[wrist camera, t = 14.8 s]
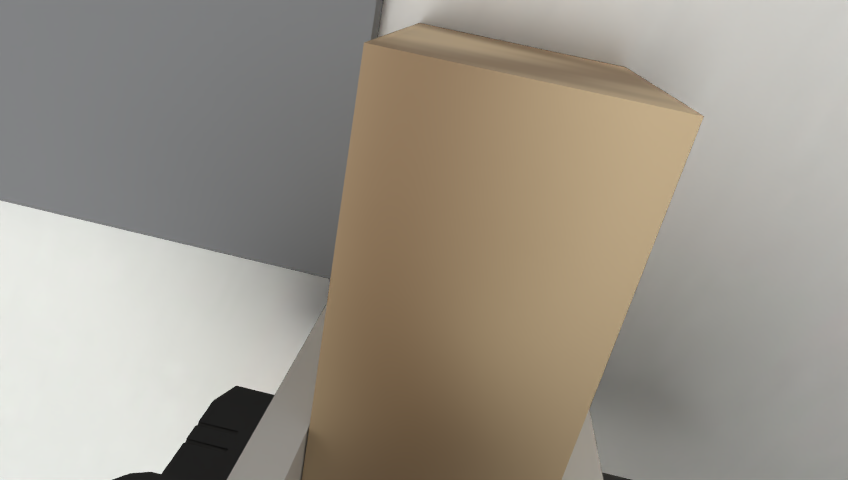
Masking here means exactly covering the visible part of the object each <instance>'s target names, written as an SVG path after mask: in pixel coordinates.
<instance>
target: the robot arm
mask: <svg viewBox="0 0 848 480" xmlns="http://www.w3.org/2000/svg"><path fill="white" fill-rule="evenodd" d="M326 306H327V304H326ZM326 306H325V308H324V309H323V311H322V313H321V315H320V316H319V318H318V320H317V322H316V323H315V325H314V327H313V329H312V330H311V332H310V334H309V336H308V337H307V339H306V341H305V343H304V345H303V346H302V348H301V350H300V352H299V353H298V355H297V357H296V359H295V360H294V362H293V364H292V366H291V367H290V369H289V371H288V373H287V374H286V376H285V378H284V380H283V381H282V383H281V385H280V387H279V388H278V390H277V392H276V394H275V395H272V394H268V393H264V392H259V391H255V390H251V389H247V388H243V387H239V386H235V387H234V388H232V389H231V390H229V391H228V392H226V393H224V394H223V395H221V396H220V397H218V398H217V399H215V400H214V401H213V402H212V403H211V405H210V406H209V408H208V409H207V411H206V412H205V413H204V415H203V416H202V418H201V419H200V420H199V423H198V425H197V426H195V427H194V429H193V430H192V432H191V433H190V435H189V436H188V437H187V440H186V442H185V443H183V444H182V446H181V447H180V449H179V450H178V452H177V453H176V454H175V456H174V457H173V459H172V460H171V461H170V463H169V464H168V466H167V467H166V468H165V470H164V471H163V473H162V474H157V473H153V472H144V473H130V474H127V475H124V476H122V477H119V478H116V479H113V480H302V475H303V468H304V461H305V454H306V447H307V440H308V433H309V425H310V418H311V411H312V404H313V397H314V390H315V383H316V376H317V369H318V362H319V355H320V348H321V341H322V334H323V327H324V320H325V313H326ZM562 480H630V479H626V478H622V477H618V476H614V475H610V474H605V473H602V470H601V465H600V460H599V455H598V450H597V445H596V439H595V434H594V429H593V424H592V419H591V414H590V409H589V411H588V413H587V416H586V418H585V421H584V423H583V426H582V429H581V431H580V434H579V436H578V439H577V441H576V444H575V446H574V449H573V452H572V454H571V457H570V459H569V462H568V464H567V467H566V469H565V472H564V475H563V477H562Z"/></svg>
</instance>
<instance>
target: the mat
mask: <svg viewBox="0 0 848 480" xmlns="http://www.w3.org/2000/svg"><path fill="white" fill-rule="evenodd" d="M382 4H383V0H0V200H1V201H6V202H10V203H14V204H18V205H22V206H27V207H31V208H35V209H39V210H43V211H48V212H52V213H56V214H60V215H64V216H69V217H73V218H77V219H81V220H85V221H90V222H94V223H98V224H102V225H106V226H111V227H115V228H119V229H123V230H127V231H132V232H136V233H140V234H144V235H148V236H153V237H157V238H161V239H165V240H169V241H174V242H178V243H182V244H186V245H191V246H195V247H199V248H203V249H207V250H212V251H216V252H220V253H224V254H228V255H233V256H237V257H241V258H245V259H249V260H254V261H258V262H262V263H266V264H270V265H275V266H279V267H283V268H287V269H291V270H296V271H300V272H304V273H308V274H312V275H317V276H321V277H325V278H329V279H330V278H331V271H332V264H333V257H334V250H335V243H336V236H337V229H338V222H339V215H340V208H341V201H342V194H343V187H344V180H345V173H346V165H347V158H348V151H349V144H350V137H351V130H352V123H353V116H354V109H355V102H356V95H357V88H358V81H359V74H360V67H361V60H362V53H363V46H364V42H367V41H370V40H373V39H376V38H377V37H378V30H379V24H380V17H381V11H382Z"/></svg>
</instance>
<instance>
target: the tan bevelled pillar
mask: <svg viewBox="0 0 848 480" xmlns="http://www.w3.org/2000/svg"><path fill="white" fill-rule="evenodd" d="M703 117H704V116H702V115H701V114H699V113H698V112H696V111H694V110H693V109H691V108H690V107H688V106H687V105H685V104H683V103H682V102H680V101H679V100H677V99H675V98H674V97H672V96H671V95H669V94H667V93H666V92H664V91H663V90H661V89H659V88H658V87H656V86H655V85H653V84H652V83H650V82H648V81H647V80H645V79H644V78H642V77H640V76H639V75H637V74H636V73H634V72H632V71H631V70H629V69H628V68H626V67H622V66H618V65H613V64H608V63H604V62H599V61H594V60H590V59H585V58H580V57H576V56H571V55H566V54H562V53H557V52H552V51H548V50H543V49H538V48H534V47H529V46H524V45H520V44H515V43H510V42H506V41H501V40H497V39H492V38H487V37H483V36H478V35H473V34H469V33H464V32H459V31H455V30H450V29H445V28H441V27H436V26H431V25H427V24H422V23H418V24H415V25H412V26H409V27H407V28H404V29H401V30H398V31H395V32H392V33H390V34H387V35H384V36H381V37H378V38H376V39H373V40H370V41H367V42H364V46H363V53H362V60H361V67H360V74H359V81H358V88H357V95H356V102H355V109H354V116H353V123H352V130H351V137H350V144H349V151H348V158H347V165H346V173H345V180H344V187H343V194H342V201H341V208H340V215H339V222H338V229H337V236H336V243H335V250H334V257H333V264H332V271H331V278H330V285H329V292H328V299H327V306H326V313H325V320H324V327H323V334H322V341H321V348H320V355H319V362H318V369H317V376H316V383H315V390H314V397H313V404H312V411H311V418H310V425H309V433H308V440H307V447H306V454H305V461H304V468H303V475H302V480H562V477H563V475H564V472H565V469H566V467H567V464H568V462H569V459H570V457H571V454H572V452H573V449H574V446H575V444H576V441H577V439H578V436H579V434H580V431H581V429H582V426H583V423H584V421H585V418H586V416H587V413H588V411H589V408H590V406H591V403H592V400H593V398H594V395H595V393H596V390H597V388H598V385H599V383H600V380H601V378H602V375H603V372H604V370H605V367H606V365H607V362H608V360H609V357H610V355H611V352H612V349H613V347H614V344H615V342H616V339H617V337H618V334H619V332H620V329H621V326H622V324H623V321H624V319H625V316H626V314H627V311H628V309H629V306H630V303H631V301H632V298H633V296H634V293H635V291H636V288H637V286H638V283H639V280H640V278H641V275H642V273H643V270H644V268H645V265H646V263H647V260H648V257H649V255H650V252H651V250H652V247H653V245H654V242H655V240H656V237H657V235H658V232H659V229H660V227H661V224H662V222H663V219H664V217H665V214H666V212H667V209H668V206H669V204H670V201H671V199H672V196H673V194H674V191H675V189H676V186H677V183H678V181H679V178H680V176H681V173H682V171H683V168H684V166H685V163H686V160H687V158H688V155H689V153H690V150H691V148H692V145H693V143H694V140H695V137H696V135H697V132H698V130H699V127H700V125H701V122H702V120H703Z"/></svg>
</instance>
